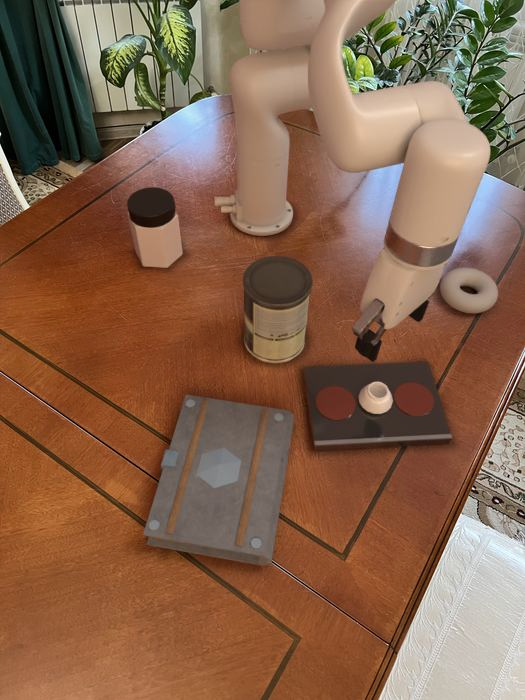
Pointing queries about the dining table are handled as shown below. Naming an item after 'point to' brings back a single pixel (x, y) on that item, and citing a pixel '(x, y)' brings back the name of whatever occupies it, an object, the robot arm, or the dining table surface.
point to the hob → (365, 427)
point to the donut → (464, 300)
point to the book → (222, 481)
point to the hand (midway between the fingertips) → (388, 334)
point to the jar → (154, 227)
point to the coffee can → (276, 308)
